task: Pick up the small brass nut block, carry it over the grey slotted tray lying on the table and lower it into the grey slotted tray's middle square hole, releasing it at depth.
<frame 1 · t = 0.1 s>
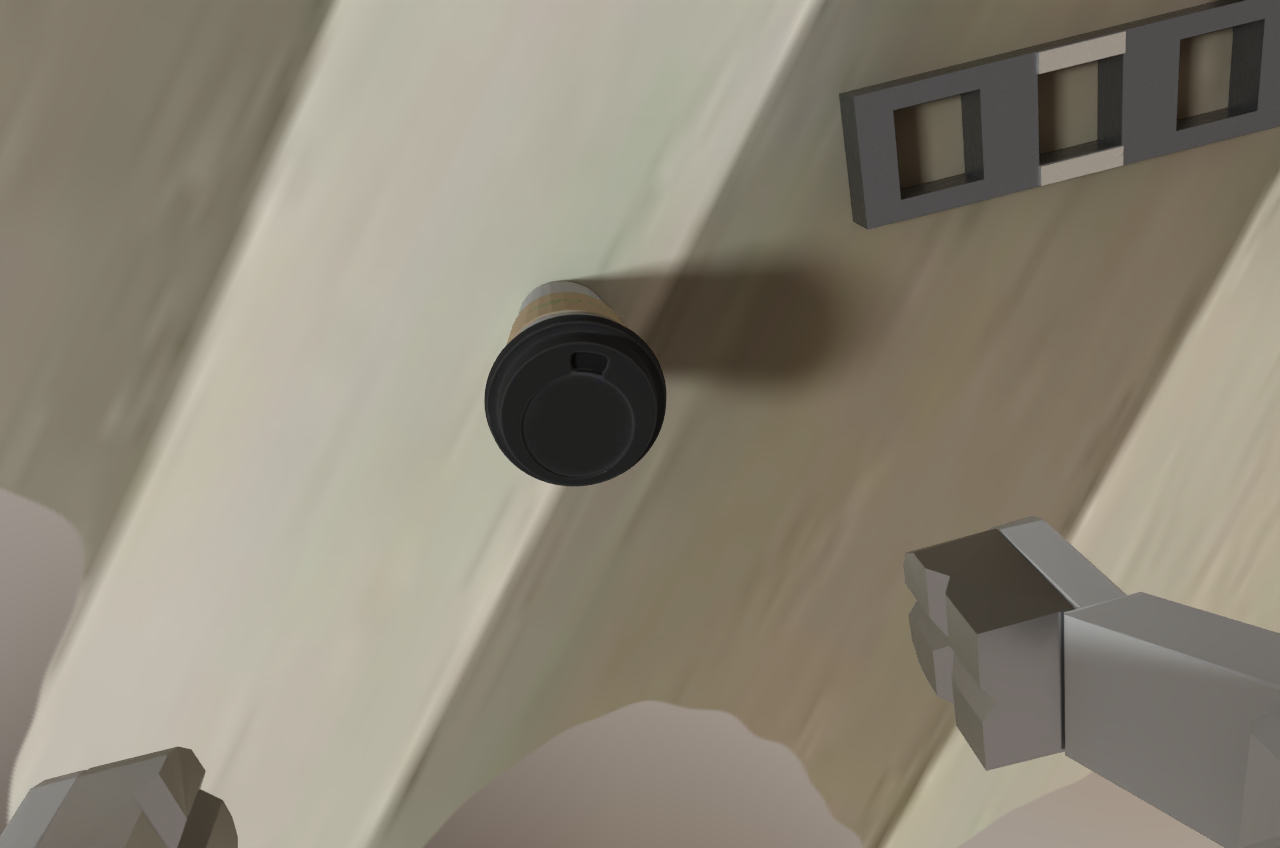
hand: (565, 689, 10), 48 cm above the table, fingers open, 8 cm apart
coffee cup: (561, 324, 58), on the table
grey slotted tray: (1057, 107, 57), on the table
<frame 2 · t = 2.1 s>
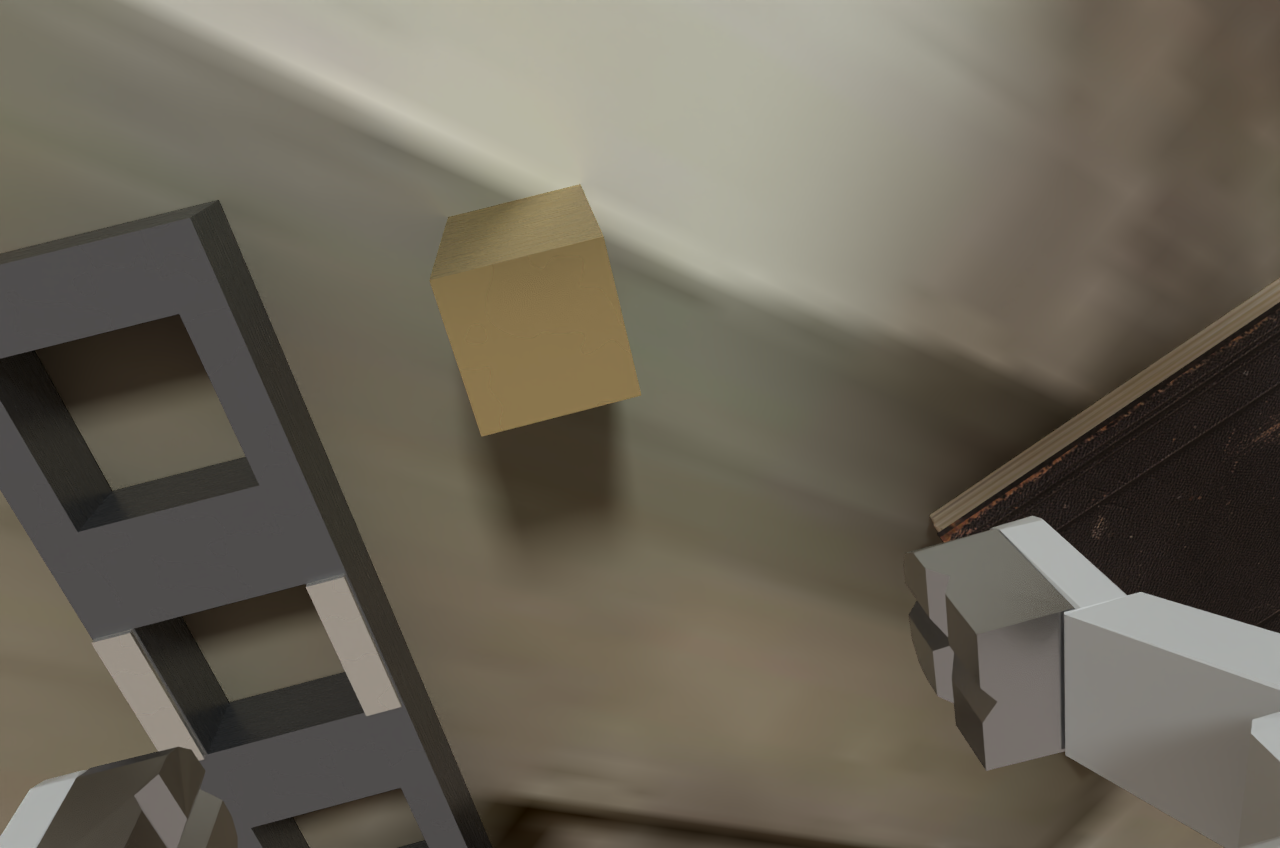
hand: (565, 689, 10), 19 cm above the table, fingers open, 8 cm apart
nut block: (532, 265, 27), on the table
grey slotted tray: (273, 624, 31), on the table
hardcover book: (1254, 469, 35), on the table
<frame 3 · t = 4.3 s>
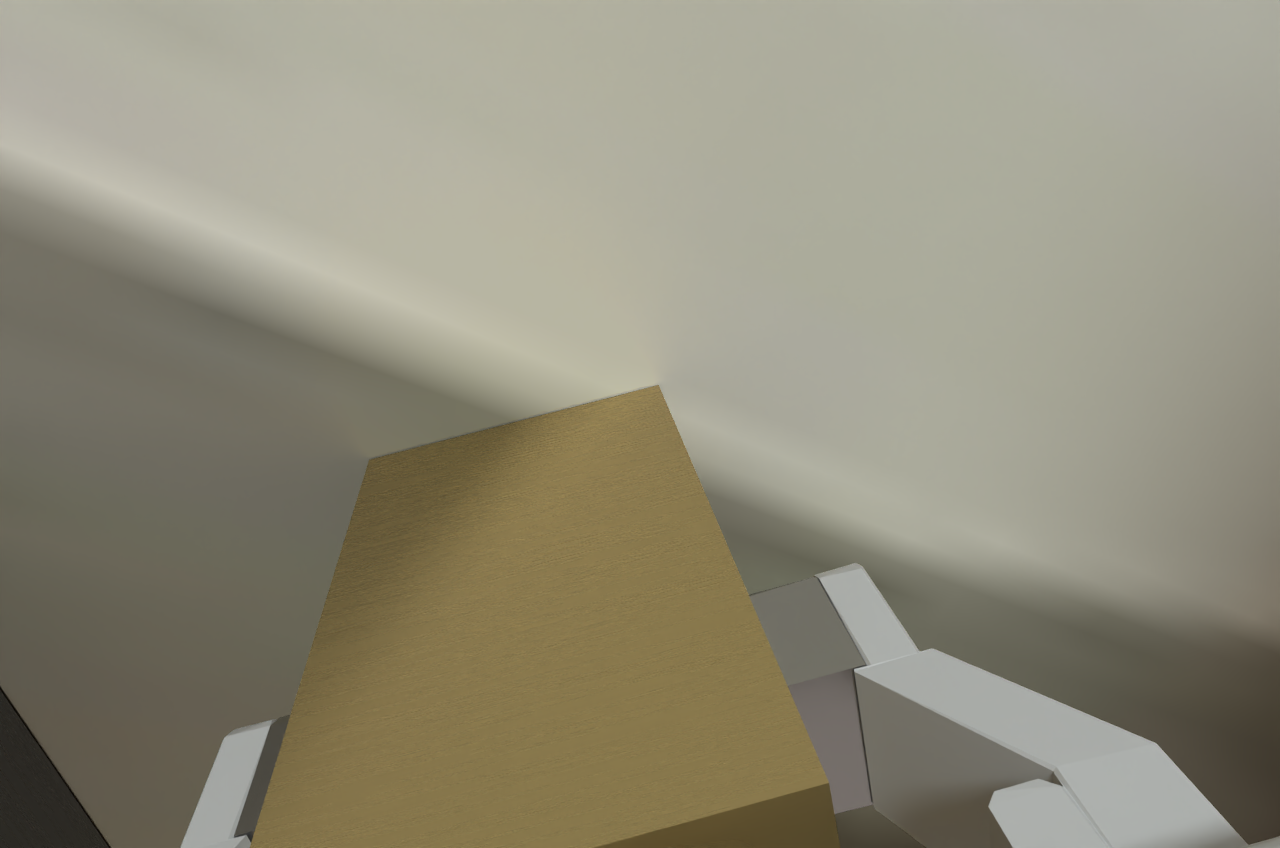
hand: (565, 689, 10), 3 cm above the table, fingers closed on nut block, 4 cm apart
nut block: (552, 544, 13), on the table, touching gripper
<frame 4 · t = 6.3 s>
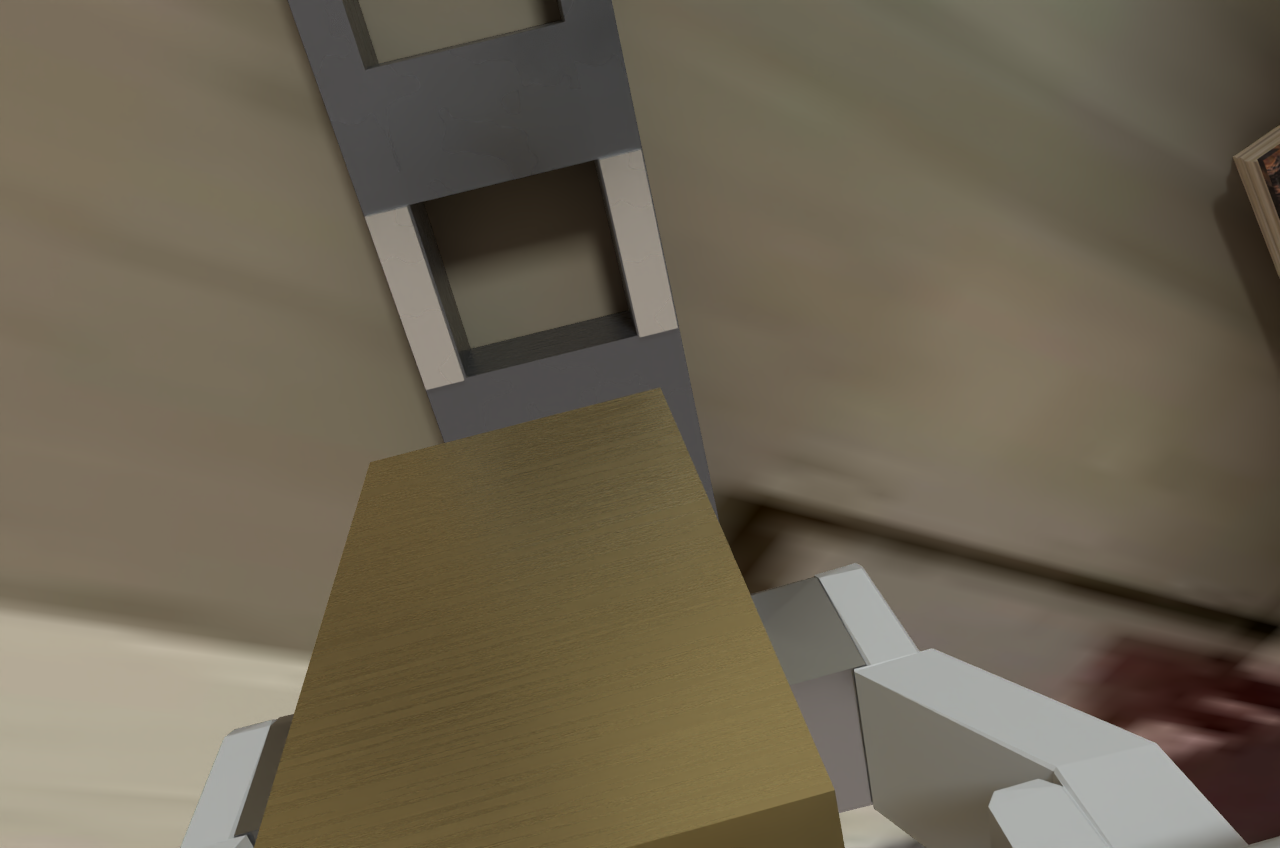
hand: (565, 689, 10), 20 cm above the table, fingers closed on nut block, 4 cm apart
nut block: (553, 546, 13), point 17 cm above the table, touching gripper
grey slotted tray: (528, 251, 28), on the table
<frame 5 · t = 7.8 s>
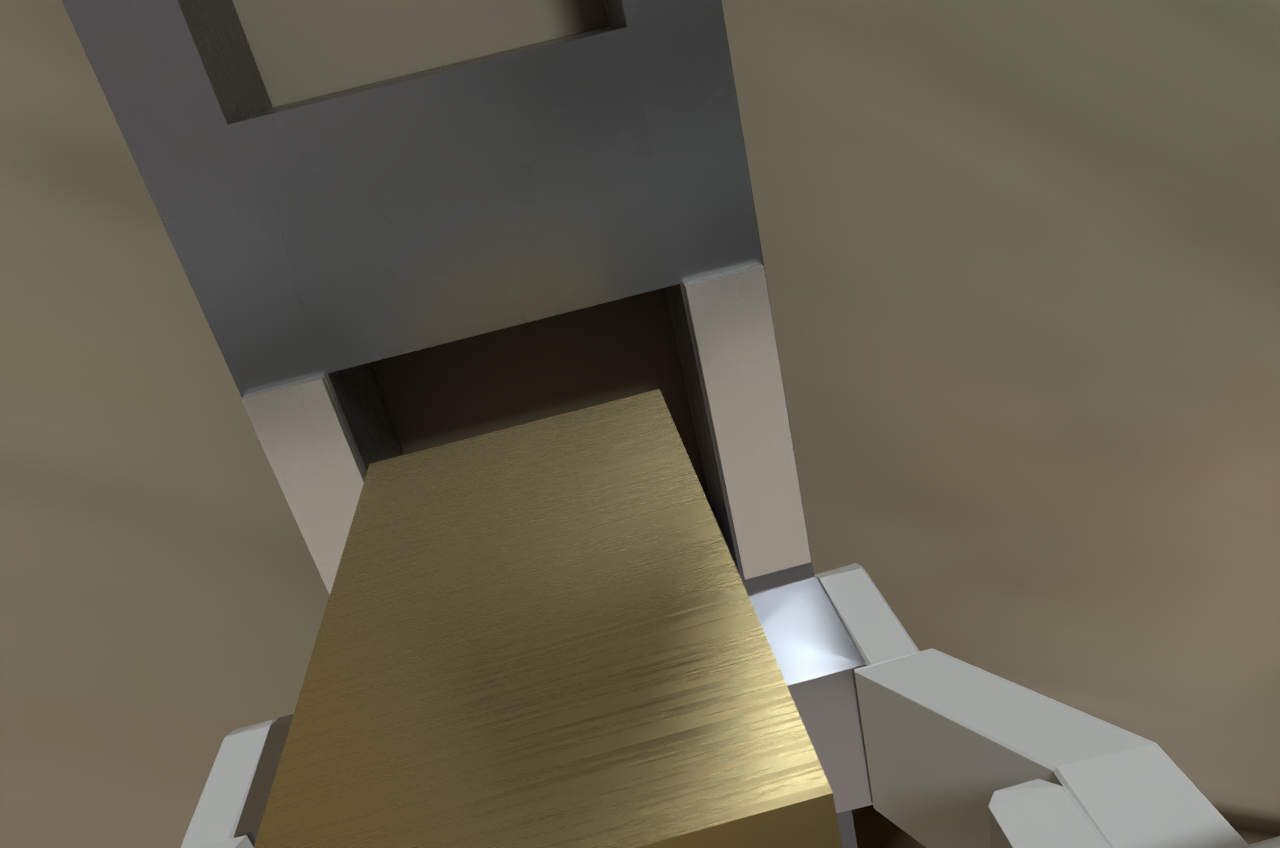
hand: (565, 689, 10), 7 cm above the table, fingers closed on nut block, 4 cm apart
nut block: (553, 548, 13), point 4 cm above the table, touching gripper
grey slotted tray: (545, 420, 17), on the table
when the fingers open (4 cm above the table, at t = 8.8 s): nut block stays where it is, resting in grey slotted tray.
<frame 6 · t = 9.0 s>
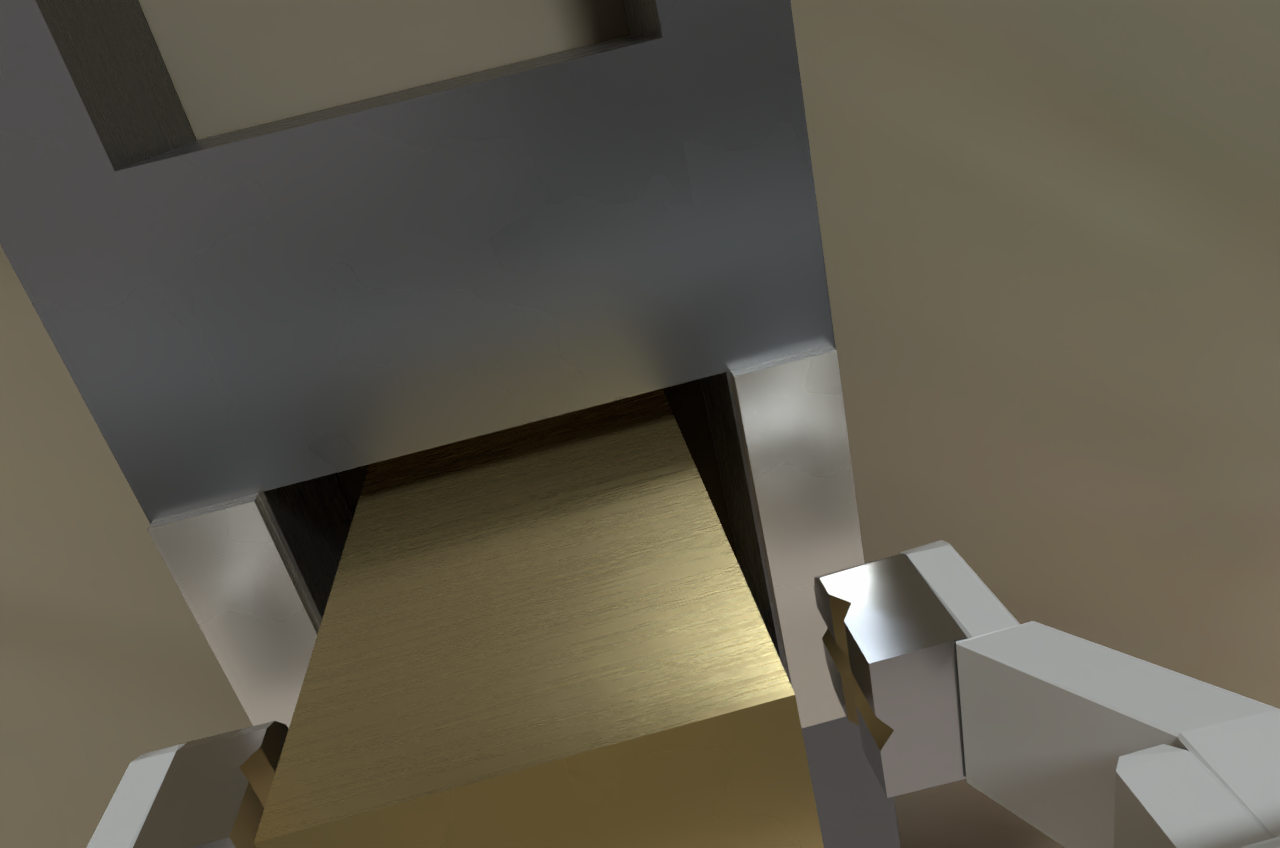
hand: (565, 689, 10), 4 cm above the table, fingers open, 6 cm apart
nut block: (551, 515, 14), resting in grey slotted tray
grey slotted tray: (547, 519, 14), on the table
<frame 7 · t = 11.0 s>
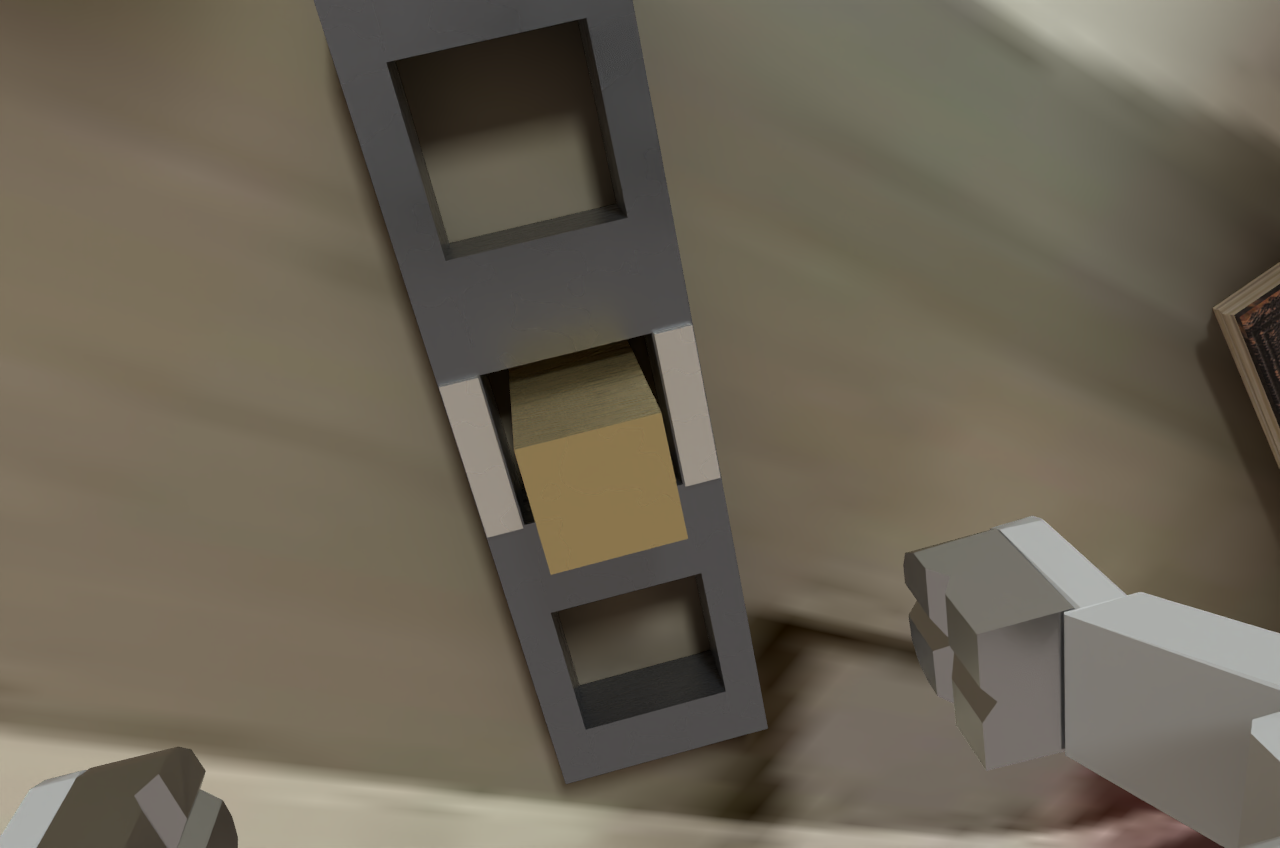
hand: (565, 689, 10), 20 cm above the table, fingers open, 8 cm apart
nut block: (580, 402, 31), resting in grey slotted tray
grey slotted tray: (578, 403, 31), on the table
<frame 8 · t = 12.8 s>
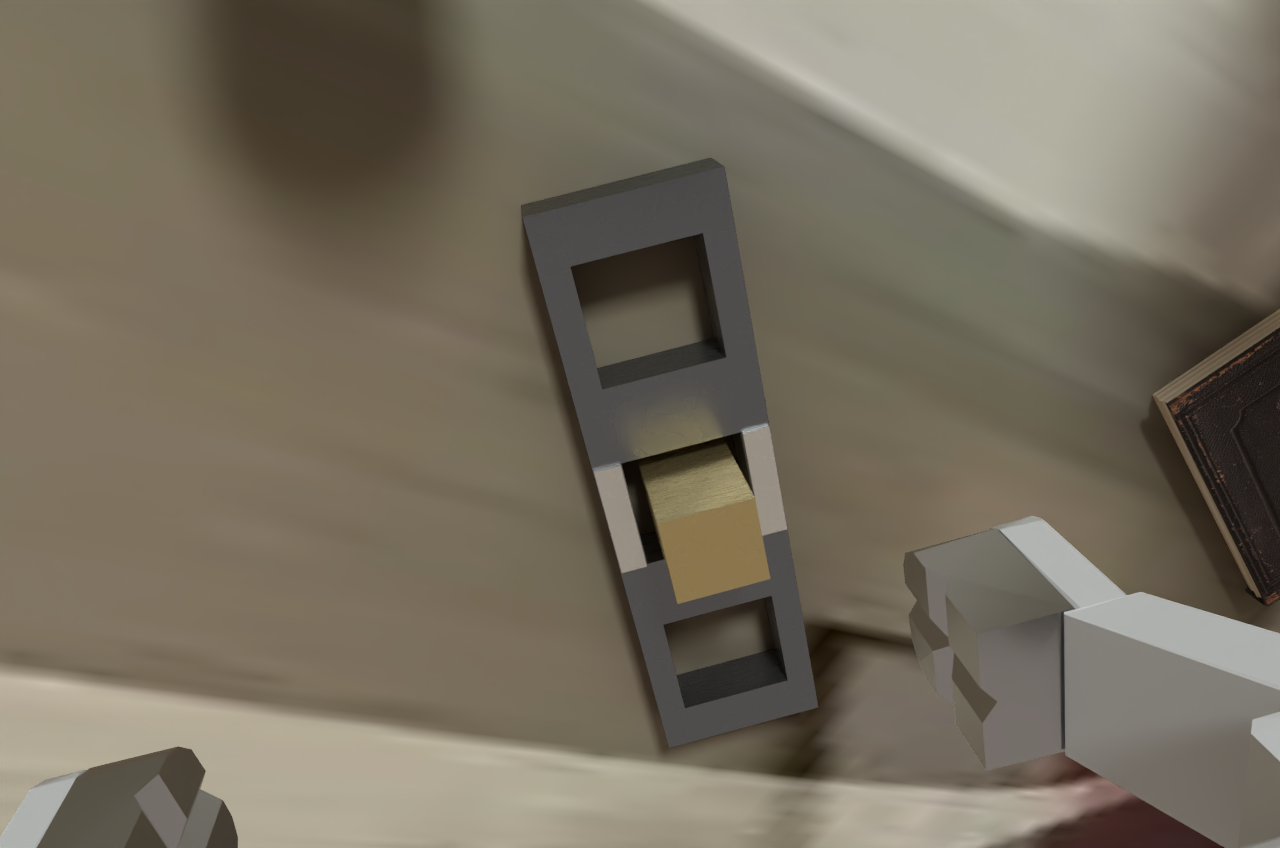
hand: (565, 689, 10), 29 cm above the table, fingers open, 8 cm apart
nut block: (683, 473, 42), resting in grey slotted tray
grey slotted tray: (682, 474, 42), on the table
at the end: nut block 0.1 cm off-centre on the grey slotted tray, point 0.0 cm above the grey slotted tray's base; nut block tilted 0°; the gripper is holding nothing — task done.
